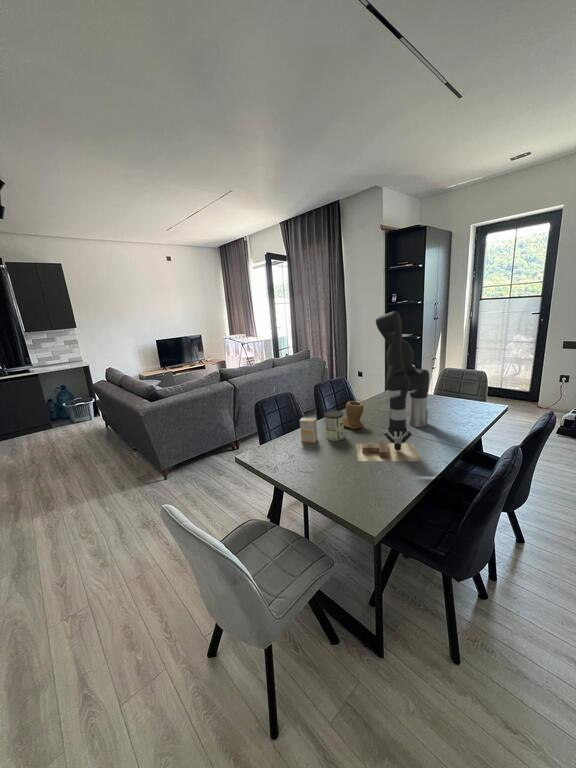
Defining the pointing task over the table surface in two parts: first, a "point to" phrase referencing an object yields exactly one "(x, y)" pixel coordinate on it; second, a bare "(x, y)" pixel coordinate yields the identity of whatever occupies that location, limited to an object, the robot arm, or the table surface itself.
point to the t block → (377, 449)
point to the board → (390, 454)
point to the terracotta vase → (353, 415)
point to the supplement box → (308, 430)
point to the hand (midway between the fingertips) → (397, 449)
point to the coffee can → (334, 425)
